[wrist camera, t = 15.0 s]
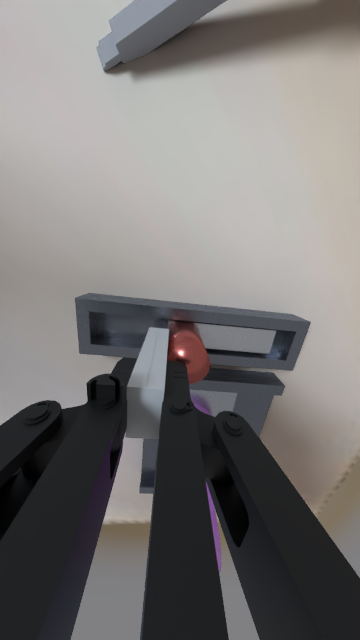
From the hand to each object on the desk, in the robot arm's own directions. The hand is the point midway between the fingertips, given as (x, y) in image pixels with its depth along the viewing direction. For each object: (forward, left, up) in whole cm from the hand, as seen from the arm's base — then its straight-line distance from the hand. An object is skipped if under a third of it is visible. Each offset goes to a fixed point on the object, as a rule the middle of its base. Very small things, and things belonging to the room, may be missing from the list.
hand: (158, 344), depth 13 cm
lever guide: (+3, 0, -4) cm, 5 cm away
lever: (+6, 0, -3) cm, 6 cm away
